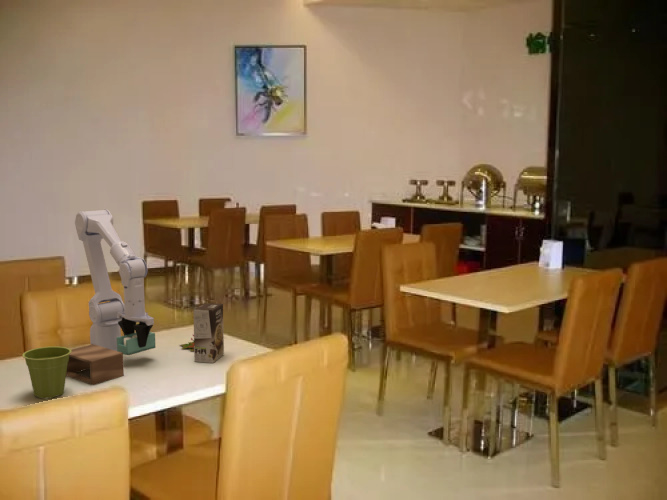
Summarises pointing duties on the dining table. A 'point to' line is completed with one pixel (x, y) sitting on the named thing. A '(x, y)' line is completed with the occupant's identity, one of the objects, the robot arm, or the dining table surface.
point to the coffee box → (208, 332)
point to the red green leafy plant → (189, 345)
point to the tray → (134, 343)
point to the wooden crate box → (95, 364)
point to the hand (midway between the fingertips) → (136, 345)
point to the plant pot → (47, 370)
